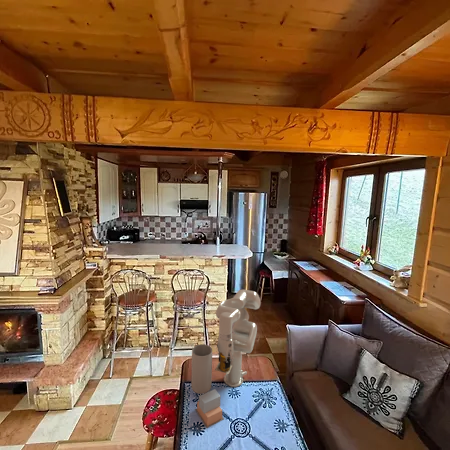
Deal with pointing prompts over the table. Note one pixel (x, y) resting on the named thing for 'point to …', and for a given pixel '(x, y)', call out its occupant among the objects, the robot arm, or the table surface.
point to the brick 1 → (209, 401)
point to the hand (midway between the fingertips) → (224, 364)
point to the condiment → (223, 365)
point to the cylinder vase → (201, 368)
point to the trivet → (204, 421)
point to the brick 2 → (210, 415)
